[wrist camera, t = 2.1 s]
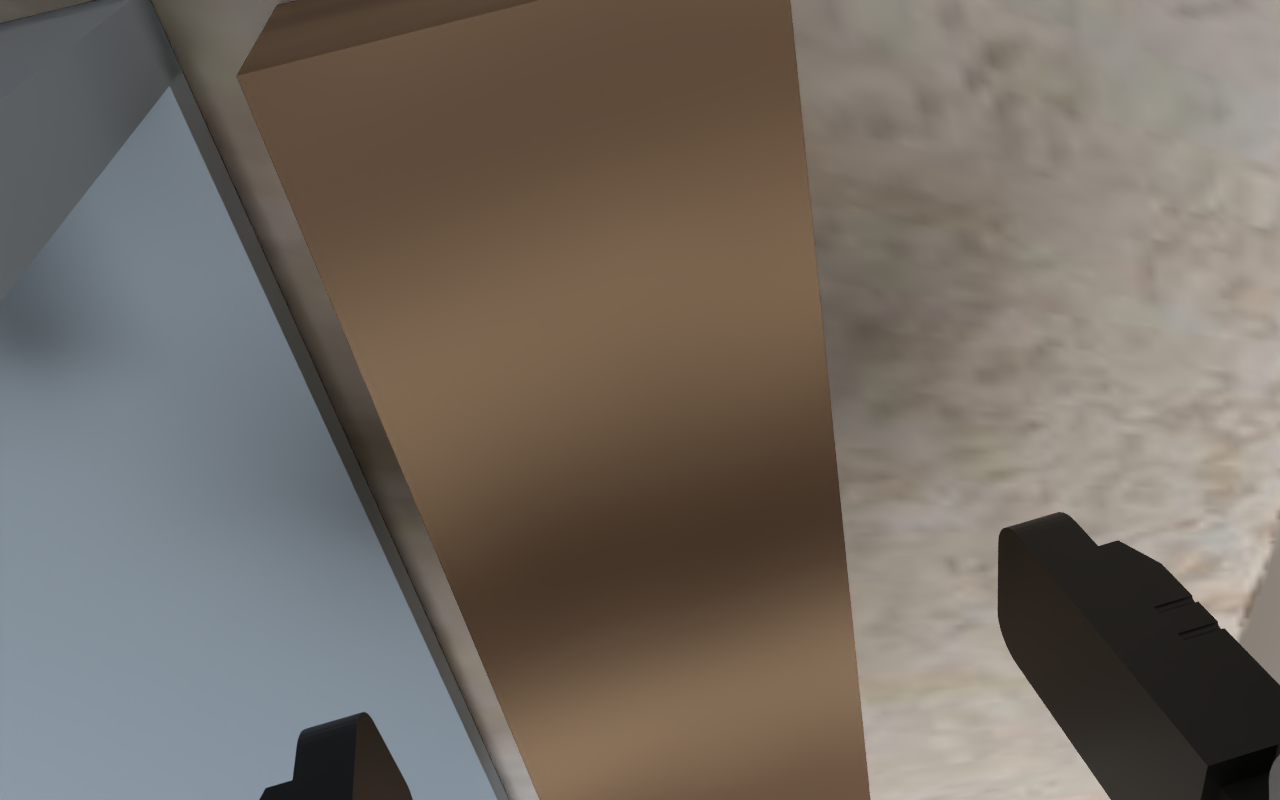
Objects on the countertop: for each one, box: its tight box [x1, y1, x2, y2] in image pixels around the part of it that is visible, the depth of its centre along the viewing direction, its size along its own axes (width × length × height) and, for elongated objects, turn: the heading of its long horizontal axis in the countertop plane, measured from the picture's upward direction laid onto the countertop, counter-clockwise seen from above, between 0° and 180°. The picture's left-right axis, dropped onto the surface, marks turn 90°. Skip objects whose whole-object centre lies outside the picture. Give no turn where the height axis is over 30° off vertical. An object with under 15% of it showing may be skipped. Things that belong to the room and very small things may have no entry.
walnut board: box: [237, 0, 870, 800], centre depth 15 cm, size 15×6×4 cm, turn 11°
